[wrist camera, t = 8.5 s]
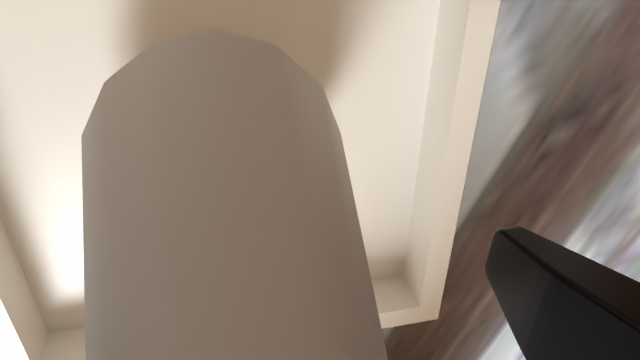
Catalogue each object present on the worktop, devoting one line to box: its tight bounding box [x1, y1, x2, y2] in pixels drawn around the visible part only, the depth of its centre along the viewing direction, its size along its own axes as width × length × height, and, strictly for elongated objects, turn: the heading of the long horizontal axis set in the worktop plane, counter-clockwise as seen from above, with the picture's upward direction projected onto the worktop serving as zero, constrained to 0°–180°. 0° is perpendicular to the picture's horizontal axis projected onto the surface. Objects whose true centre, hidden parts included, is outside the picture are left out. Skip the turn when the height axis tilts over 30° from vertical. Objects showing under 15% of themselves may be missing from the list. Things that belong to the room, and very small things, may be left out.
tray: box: [0, 0, 501, 360], centre depth 13 cm, size 16×14×2 cm
